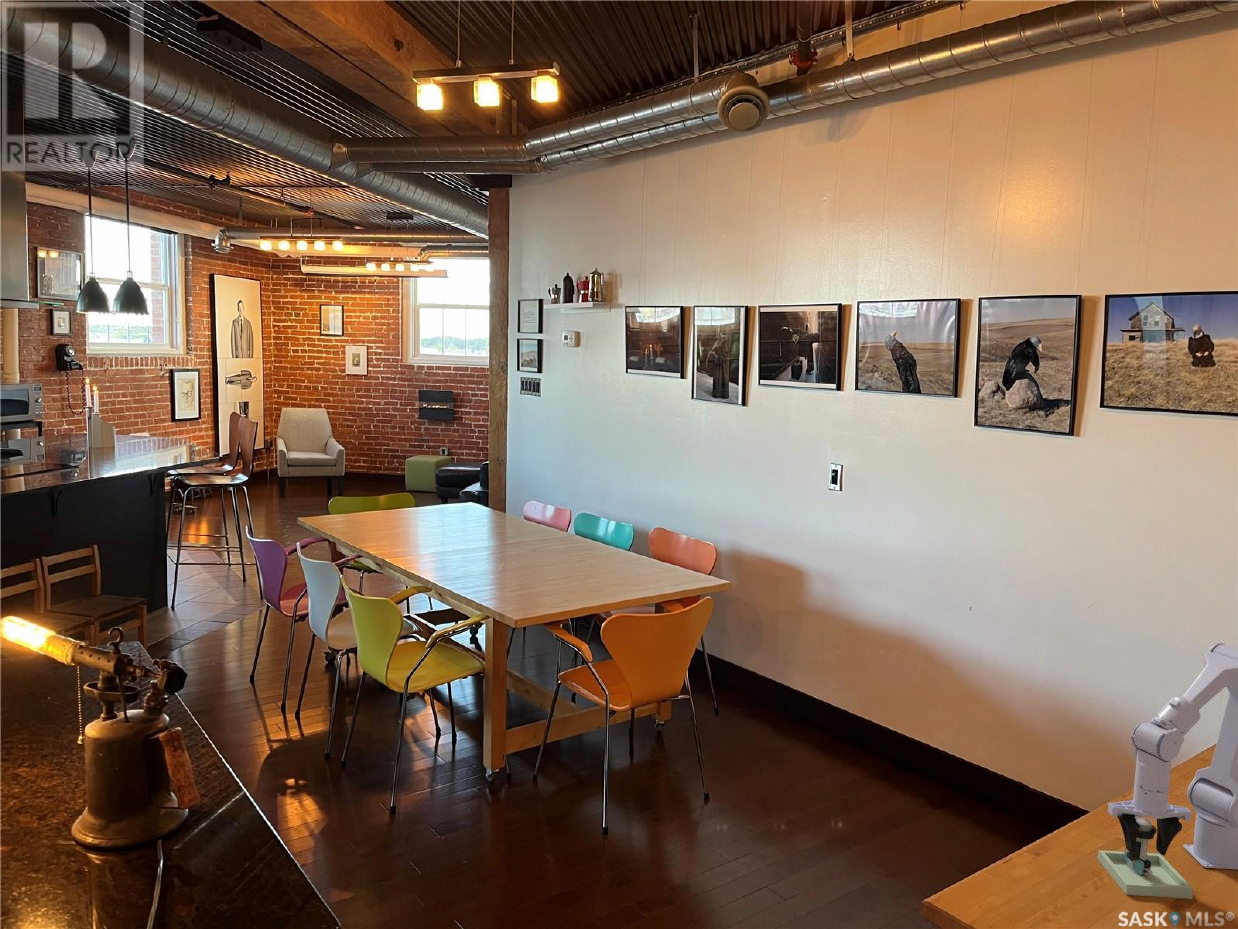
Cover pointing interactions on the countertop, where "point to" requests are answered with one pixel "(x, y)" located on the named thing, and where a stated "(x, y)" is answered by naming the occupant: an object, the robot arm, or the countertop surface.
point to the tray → (1132, 883)
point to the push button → (1141, 848)
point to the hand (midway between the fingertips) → (1145, 851)
